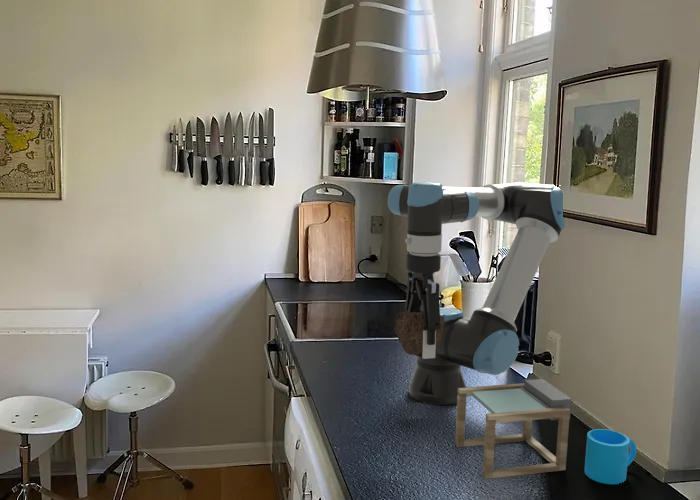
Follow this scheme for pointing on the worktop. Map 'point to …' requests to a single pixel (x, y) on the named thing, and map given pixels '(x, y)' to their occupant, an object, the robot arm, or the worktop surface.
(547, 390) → the trapdoor
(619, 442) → the mug
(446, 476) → the worktop surface
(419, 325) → the rock
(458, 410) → the frame
